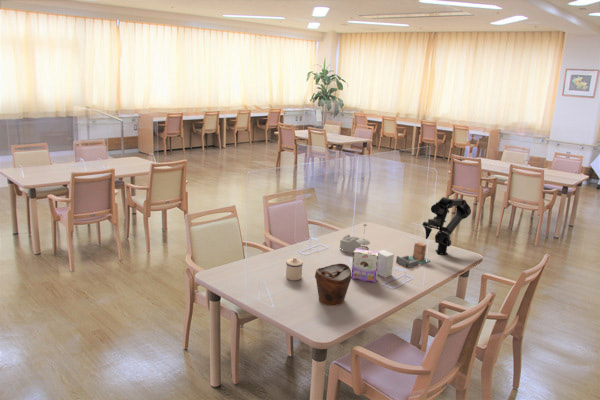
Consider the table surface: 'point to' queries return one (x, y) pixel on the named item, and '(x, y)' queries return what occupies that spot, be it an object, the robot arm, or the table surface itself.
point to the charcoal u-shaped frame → (404, 261)
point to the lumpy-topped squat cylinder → (349, 243)
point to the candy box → (365, 265)
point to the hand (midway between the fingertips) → (432, 240)
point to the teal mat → (419, 261)
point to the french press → (363, 242)
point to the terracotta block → (419, 251)
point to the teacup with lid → (294, 269)
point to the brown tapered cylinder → (333, 283)
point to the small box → (385, 263)
